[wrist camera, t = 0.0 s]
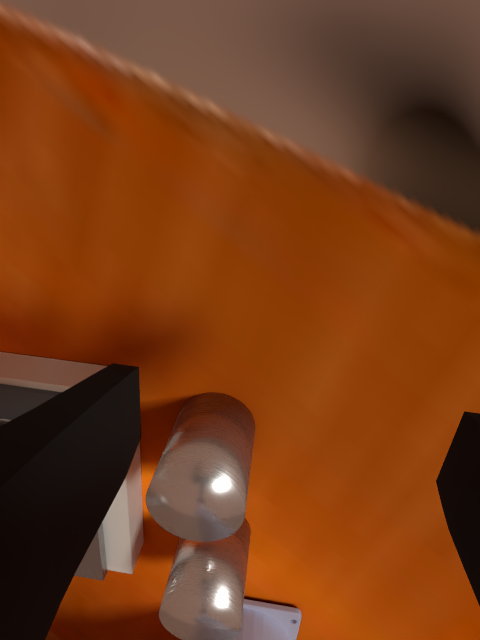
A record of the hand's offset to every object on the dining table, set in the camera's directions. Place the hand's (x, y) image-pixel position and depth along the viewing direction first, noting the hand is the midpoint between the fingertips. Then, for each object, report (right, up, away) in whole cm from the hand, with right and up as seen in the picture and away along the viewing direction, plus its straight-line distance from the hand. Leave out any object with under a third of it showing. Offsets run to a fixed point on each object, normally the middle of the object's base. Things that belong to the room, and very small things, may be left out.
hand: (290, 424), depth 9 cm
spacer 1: (-2, -4, +13) cm, 14 cm away
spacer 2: (-3, -11, +17) cm, 20 cm away
